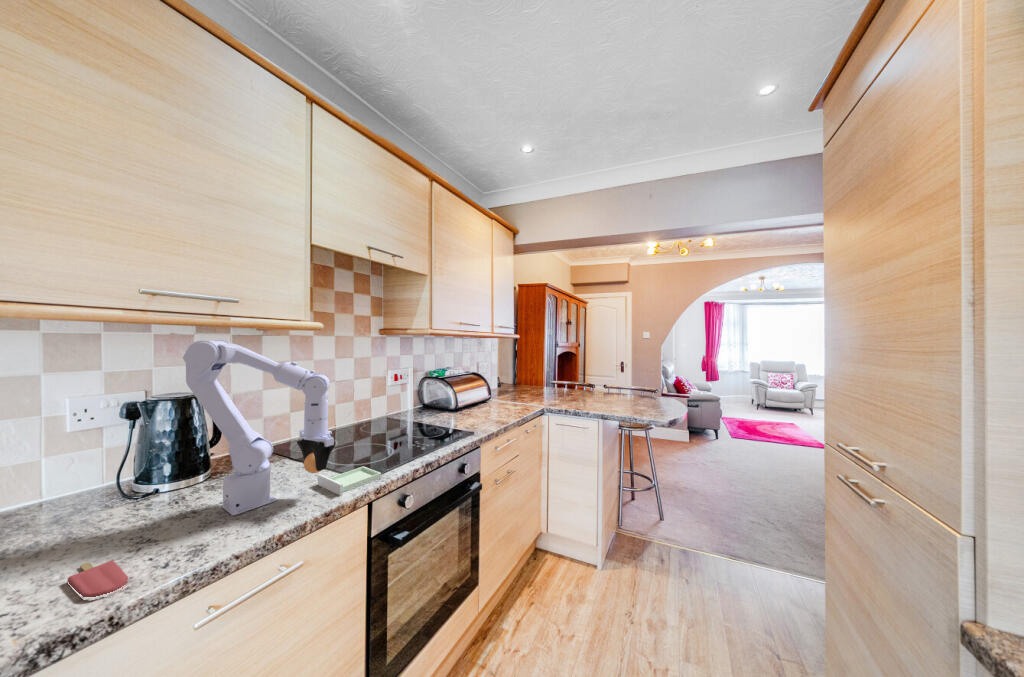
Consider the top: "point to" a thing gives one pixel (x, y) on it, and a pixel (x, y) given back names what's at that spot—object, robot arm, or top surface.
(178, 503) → the top surface
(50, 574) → the top surface
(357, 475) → the tray
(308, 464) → the ball
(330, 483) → the acrylic wall
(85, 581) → the popsicle
